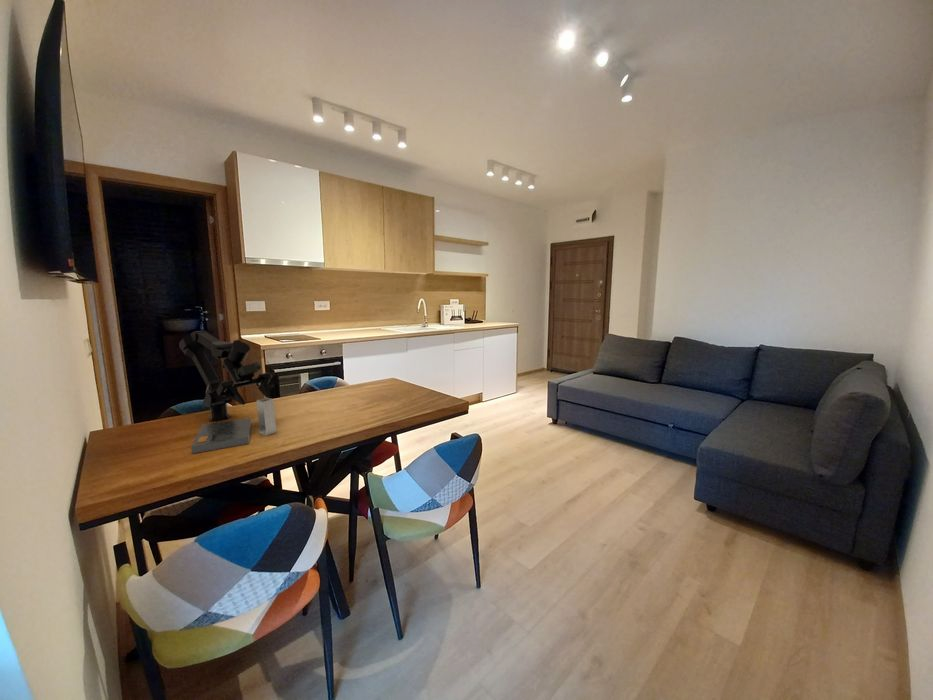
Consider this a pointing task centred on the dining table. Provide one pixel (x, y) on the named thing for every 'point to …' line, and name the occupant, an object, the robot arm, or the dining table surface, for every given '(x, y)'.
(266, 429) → the steel peg
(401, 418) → the dining table surface
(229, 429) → the flange plate
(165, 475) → the dining table surface
